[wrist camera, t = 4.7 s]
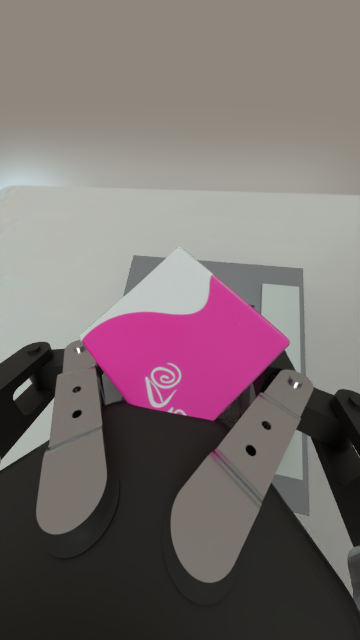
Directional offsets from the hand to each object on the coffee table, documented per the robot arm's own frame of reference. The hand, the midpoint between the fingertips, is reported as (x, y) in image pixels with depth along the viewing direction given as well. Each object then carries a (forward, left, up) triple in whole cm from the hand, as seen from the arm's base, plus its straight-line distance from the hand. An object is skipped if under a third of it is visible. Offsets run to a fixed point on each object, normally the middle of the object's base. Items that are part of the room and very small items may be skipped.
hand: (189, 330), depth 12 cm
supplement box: (0, +1, -6) cm, 6 cm away
